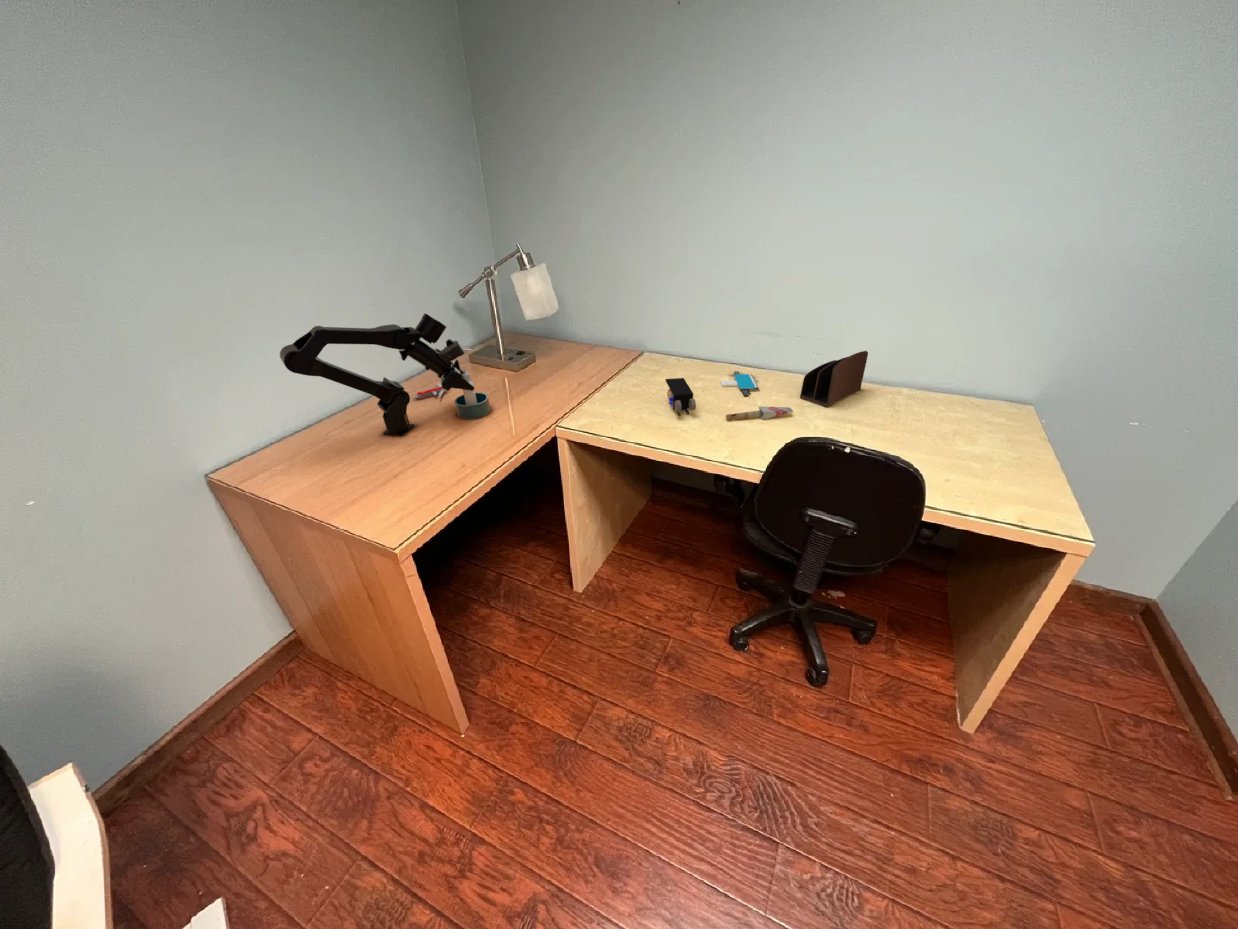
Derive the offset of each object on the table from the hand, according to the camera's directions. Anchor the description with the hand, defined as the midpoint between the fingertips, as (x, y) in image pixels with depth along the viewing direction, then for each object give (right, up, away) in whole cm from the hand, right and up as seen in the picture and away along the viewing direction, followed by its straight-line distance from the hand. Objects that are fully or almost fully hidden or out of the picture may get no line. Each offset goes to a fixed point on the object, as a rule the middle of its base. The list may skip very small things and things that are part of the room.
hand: (472, 385), depth 152 cm
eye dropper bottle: (-1, -6, +3) cm, 7 cm away
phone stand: (+86, +3, +16) cm, 88 cm away
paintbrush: (+87, -10, -5) cm, 88 cm away
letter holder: (+114, -2, +7) cm, 114 cm away
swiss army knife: (-20, -1, +16) cm, 25 cm away
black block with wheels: (+64, -7, +2) cm, 65 cm away
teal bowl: (-1, -8, +4) cm, 9 cm away
